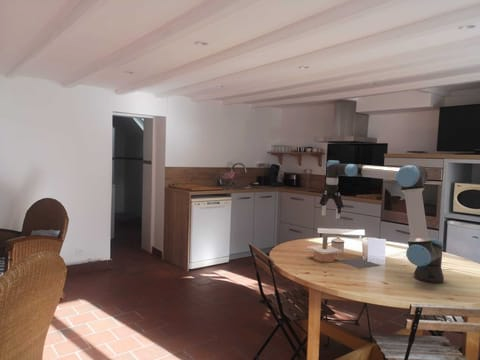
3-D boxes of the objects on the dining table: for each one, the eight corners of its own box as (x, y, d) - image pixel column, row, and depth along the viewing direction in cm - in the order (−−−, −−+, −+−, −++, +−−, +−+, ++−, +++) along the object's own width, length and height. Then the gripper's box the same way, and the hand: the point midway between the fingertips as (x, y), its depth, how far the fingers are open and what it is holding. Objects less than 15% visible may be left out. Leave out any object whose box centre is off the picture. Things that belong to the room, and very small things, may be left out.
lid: (342, 252, 234) (343, 236, 234) (322, 254, 227) (323, 238, 226) (326, 246, 249) (326, 231, 248) (307, 248, 241) (307, 233, 241)
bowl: (338, 261, 235) (339, 251, 235) (322, 263, 229) (323, 253, 229) (325, 256, 247) (325, 247, 247) (309, 258, 241) (310, 248, 241)
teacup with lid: (343, 252, 261) (344, 236, 260) (344, 255, 252) (345, 238, 252) (326, 250, 264) (327, 234, 263) (326, 253, 255) (327, 237, 254)
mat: (381, 266, 228) (381, 265, 228) (359, 269, 219) (359, 268, 219) (359, 258, 245) (359, 257, 245) (337, 261, 236) (337, 260, 236)
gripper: (350, 185, 226) (348, 219, 227) (323, 183, 248) (322, 213, 249) (341, 185, 223) (339, 220, 224) (315, 182, 245) (313, 214, 246)
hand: (330, 216), depth 237 cm, fingers open, 13 cm apart
